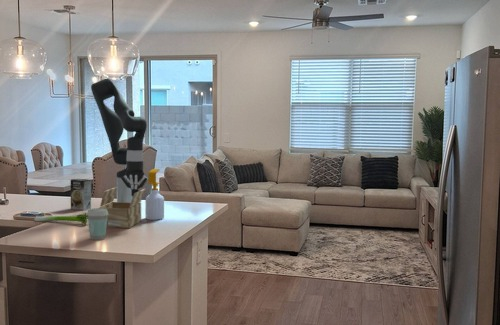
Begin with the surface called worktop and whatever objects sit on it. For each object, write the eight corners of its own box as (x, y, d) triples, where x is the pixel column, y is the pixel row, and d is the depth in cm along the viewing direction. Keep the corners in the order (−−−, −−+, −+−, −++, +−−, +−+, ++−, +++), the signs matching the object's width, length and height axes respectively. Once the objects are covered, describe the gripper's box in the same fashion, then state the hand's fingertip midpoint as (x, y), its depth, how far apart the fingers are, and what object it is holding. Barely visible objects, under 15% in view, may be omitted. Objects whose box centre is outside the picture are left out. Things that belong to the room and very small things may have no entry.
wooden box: (113, 220, 246) (112, 201, 245) (141, 221, 244) (140, 202, 243) (99, 227, 229) (99, 207, 228) (129, 228, 227) (129, 208, 227)
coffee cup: (89, 236, 212) (89, 207, 211) (110, 236, 213) (110, 207, 212) (84, 241, 203) (84, 211, 202) (106, 240, 204) (106, 211, 203)
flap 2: (139, 201, 243) (144, 188, 242) (140, 202, 242) (145, 188, 242) (128, 207, 227) (134, 193, 227) (129, 207, 227) (135, 193, 227)
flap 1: (112, 200, 244) (116, 187, 243) (113, 201, 244) (116, 187, 243) (100, 206, 229) (103, 191, 228) (100, 206, 229) (104, 191, 228)
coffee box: (70, 209, 272) (69, 179, 271) (78, 207, 278) (78, 178, 277) (83, 210, 269) (83, 180, 268) (91, 208, 275) (91, 179, 274)
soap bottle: (167, 217, 254) (167, 168, 252) (158, 220, 246) (158, 170, 244) (151, 216, 257) (151, 168, 255) (142, 219, 249) (142, 169, 247)
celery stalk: (42, 223, 245) (96, 222, 237) (32, 228, 239) (88, 227, 231) (39, 211, 244) (94, 210, 236) (30, 215, 237) (86, 214, 229)
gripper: (118, 160, 230) (118, 197, 231) (146, 161, 229) (146, 198, 230) (124, 158, 237) (124, 195, 239) (151, 159, 236) (151, 196, 238)
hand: (134, 197), depth 234 cm, fingers closed
